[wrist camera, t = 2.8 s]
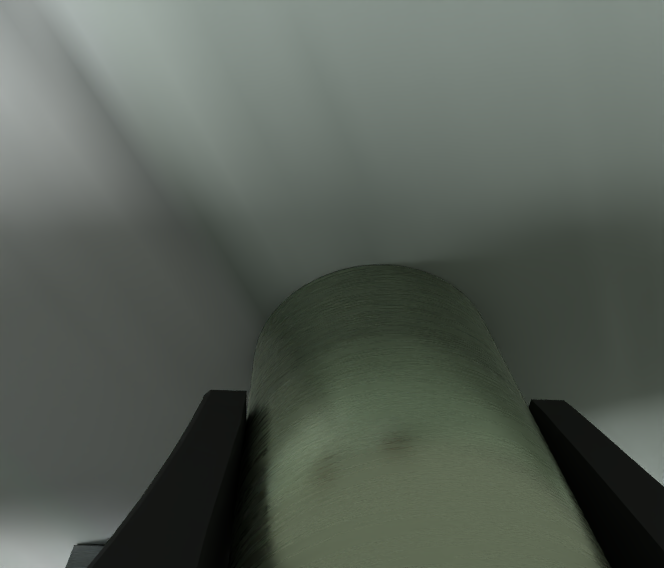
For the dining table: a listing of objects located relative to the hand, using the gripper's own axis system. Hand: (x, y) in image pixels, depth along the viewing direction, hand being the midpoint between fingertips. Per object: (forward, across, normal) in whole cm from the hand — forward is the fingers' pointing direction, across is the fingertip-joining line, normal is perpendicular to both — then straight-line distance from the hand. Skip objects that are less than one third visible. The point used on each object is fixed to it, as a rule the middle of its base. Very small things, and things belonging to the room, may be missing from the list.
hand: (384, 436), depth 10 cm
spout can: (+2, 0, 0) cm, 2 cm away
